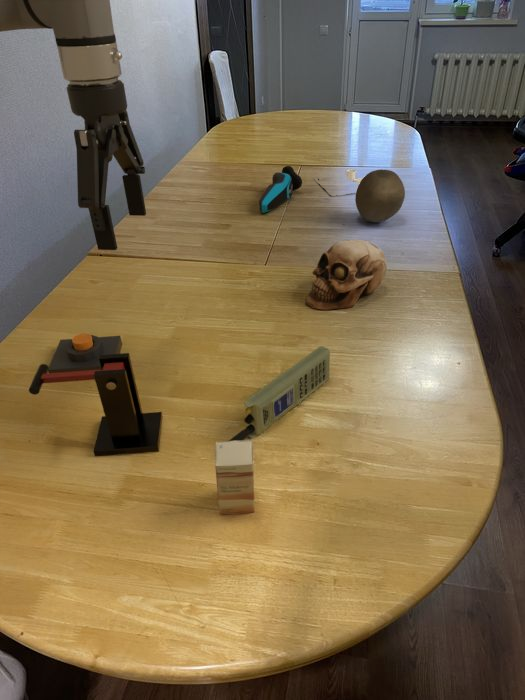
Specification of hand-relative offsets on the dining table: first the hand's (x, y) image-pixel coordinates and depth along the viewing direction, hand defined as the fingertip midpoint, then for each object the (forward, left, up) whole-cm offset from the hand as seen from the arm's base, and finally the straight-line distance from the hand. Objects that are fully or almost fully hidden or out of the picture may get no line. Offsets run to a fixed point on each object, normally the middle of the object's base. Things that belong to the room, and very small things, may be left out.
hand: (123, 230), depth 82 cm
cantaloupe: (+61, +66, -29) cm, 95 cm away
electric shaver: (+33, +88, -29) cm, 99 cm away
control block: (-13, +5, -28) cm, 32 cm away
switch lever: (-7, -17, -17) cm, 25 cm away
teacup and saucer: (+60, +101, -29) cm, 121 cm away
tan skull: (+42, +24, -29) cm, 56 cm away
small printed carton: (+15, -32, -29) cm, 45 cm away
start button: (-13, +5, -25) cm, 28 cm away
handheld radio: (+23, -14, -29) cm, 39 cm away
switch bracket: (-2, -17, -28) cm, 33 cm away
